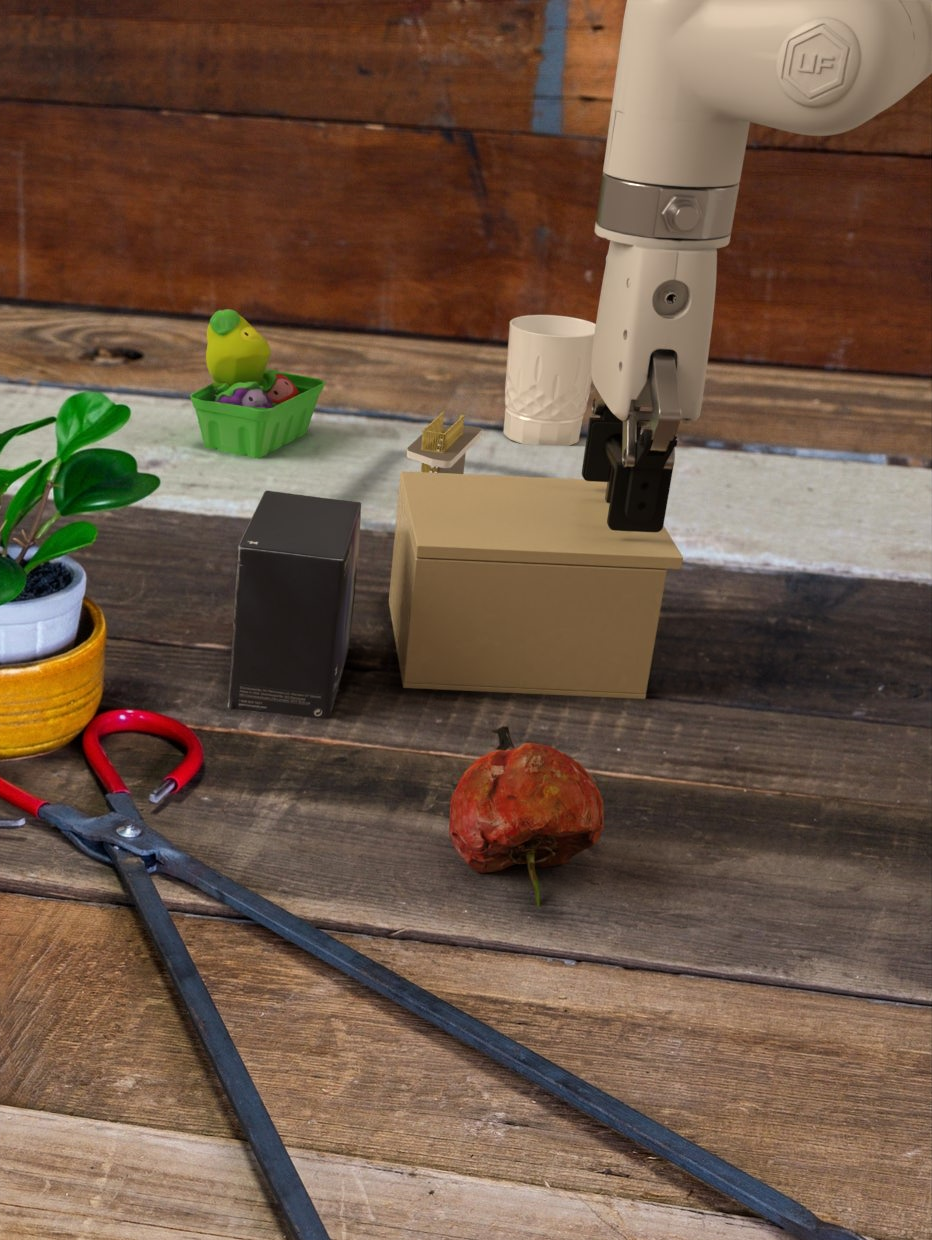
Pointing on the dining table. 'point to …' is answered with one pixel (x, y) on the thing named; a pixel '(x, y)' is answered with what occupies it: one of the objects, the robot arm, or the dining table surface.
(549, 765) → the red round fruit
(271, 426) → the fruit basket
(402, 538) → the tan open box
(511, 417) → the white cup
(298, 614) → the small box
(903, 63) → the robot arm
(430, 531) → the lid
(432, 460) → the platform
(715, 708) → the dining table surface
